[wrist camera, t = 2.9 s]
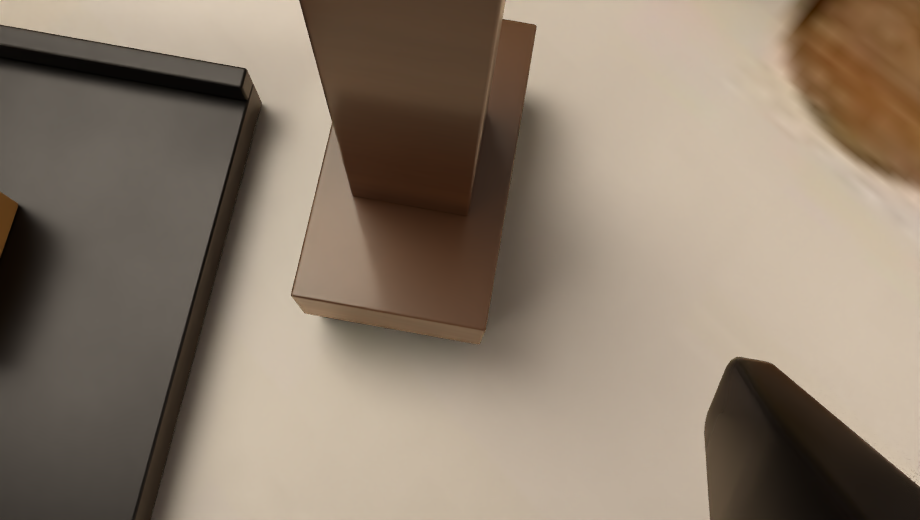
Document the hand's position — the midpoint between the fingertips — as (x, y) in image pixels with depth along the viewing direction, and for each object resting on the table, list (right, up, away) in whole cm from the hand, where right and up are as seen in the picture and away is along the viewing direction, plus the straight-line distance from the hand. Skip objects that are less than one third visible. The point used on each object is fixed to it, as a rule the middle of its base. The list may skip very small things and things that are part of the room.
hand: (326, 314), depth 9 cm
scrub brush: (0, +2, +13) cm, 13 cm away
